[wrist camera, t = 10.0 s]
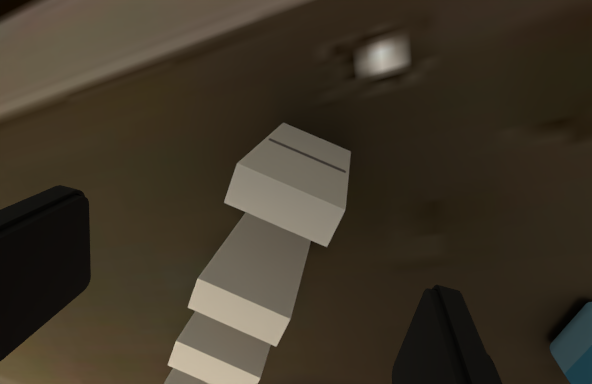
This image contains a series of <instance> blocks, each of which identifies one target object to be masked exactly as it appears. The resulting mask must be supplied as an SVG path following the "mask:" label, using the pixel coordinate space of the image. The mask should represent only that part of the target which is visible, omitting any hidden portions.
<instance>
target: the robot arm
mask: <svg viewBox="0 0 592 384" xmlns="http://www.w3.org/2000/svg"><path fill="white" fill-rule="evenodd" d="M90 277H91V272H90V230H89V201H88V199H87V198H86V197H85V195H84V193H83V192H82V191H80V190H77V189H73V188H69V187H65V186H61V185H59V186H55V187H53V188H50V189H48V190H46V191H43V192H41V193H39V194H36V195H34V196H32V197H29V198H27V199H25V200H22V201H20V202H18V203H15V204H13V205H11V206H8V207H6V208H4V209H1V210H0V361H1V360H3V359H4V358H5V357H6V356H7V355H8V354H10V353H11V352H12V351H13V350H14V349H16V348H17V347H18V346H19V345H20V344H21V343H23V342H24V341H25V340H26V339H27V338H29V337H30V336H31V335H32V334H33V333H34V332H36V331H37V330H38V329H39V328H40V327H42V326H43V325H44V324H45V323H46V322H47V321H49V320H50V319H51V318H52V317H53V316H54V315H56V314H57V313H58V312H59V311H60V310H62V309H63V308H64V307H65V306H66V305H67V304H69V303H70V302H71V301H72V300H73V299H75V298H76V297H77V296H78V295H79V294H80V293H82V292H83V291H84V290H85V289H86V287H87V286H88V284H89V282H90ZM392 384H502V382H501V380H500V377H499V375H498V373H497V370H496V368H495V366H494V363H493V361H492V359H491V358H490V356H489V355H488V354H487V353H486V351H485V349H484V346H483V344H482V341H481V339H480V337H479V334H478V332H477V330H476V327H475V325H474V323H473V320H472V318H471V315H470V313H469V311H468V308H467V306H466V304H465V301H464V299H463V297H462V294H461V293H460V291H458V290H454V289H450V288H447V287H443V286H439V285H435V286H434V287H433V288H432V289H428V288H427V289H426V290H425V291H424V293H423V295H422V298H421V300H420V303H419V305H418V307H417V310H416V312H415V315H414V317H413V319H412V322H411V324H410V327H409V329H408V332H407V334H406V336H405V339H404V341H403V344H402V346H401V349H400V351H399V353H398V356H397V358H396V361H395V363H394V366H393V371H392Z"/></svg>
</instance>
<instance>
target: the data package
mask: <svg viewBox="0 0 592 384" xmlns="http://www.w3.org/2000/svg"><path fill="white" fill-rule="evenodd" d="M550 352H551V354H552V356H553V357H554V359H555V360H556V362H557V363H558V365H559V367H560V368H561V370H562V371H563V373H564V374H565V376H566V378H567V379H568V381H569V382H570V384H592V302H588V303H586V304H585V305H584V307H583V308H582V309H581V310H580V311H579V312H578V313H577V314H576V316H575V317H574V318H573V319H572V320H571V321H570V322H569V324H568V325H567V326H566V327H565V328H564V329H563V330H562V331H561V333H560V334H559V335H558V336H557V337H556V338H555V339H554V340H553V342H552V343H551V344H550Z"/></svg>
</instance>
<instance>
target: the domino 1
mask: <svg viewBox="0 0 592 384" xmlns="http://www.w3.org/2000/svg"><path fill="white" fill-rule="evenodd" d="M350 157H351V151H349V150H346V149H344V148H342V147H339V146H337V145H335V144H332V143H330V142H328V141H325V140H323V139H321V138H318V137H316V136H314V135H311V134H309V133H307V132H304V131H302V130H300V129H297V128H295V127H293V126H290V125H288V124H286V123H282V124H281V125H280V126H279V127H278V128H277V129H275V130H274V131H273V132H272V133H271V134H270V135H269V136H267V137H266V138H265V139H264V140H263V141H262V142H261V143H260V144H258V145H257V146H256V147H255V148H254V149H253V150H252V151H250V152H249V153H248V154H247V155H246V156H245V157H244V158H242V159H241V160H240V161H239V162H238V163H237V165H236V168H235V171H234V174H233V177H232V180H231V183H230V186H229V189H228V192H227V195H226V198H225V201H224V203H226V204H228V205H231V206H233V207H235V208H237V209H240V210H242V211H244V212H247V213H249V214H251V215H254V216H256V217H258V218H261V219H263V220H265V221H267V222H270V223H272V224H274V225H277V226H279V227H281V228H284V229H286V230H288V231H290V232H293V233H295V234H297V235H300V236H302V237H304V238H307V239H309V240H311V241H314V242H316V243H318V244H320V245H323V246H325V247H327V246H328V244H329V242H330V240H331V238H332V236H333V234H334V232H335V230H336V228H337V226H338V224H339V222H340V220H341V218H342V216H343V214H344V212H345V210H346V199H347V189H348V178H349V168H350Z"/></svg>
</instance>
